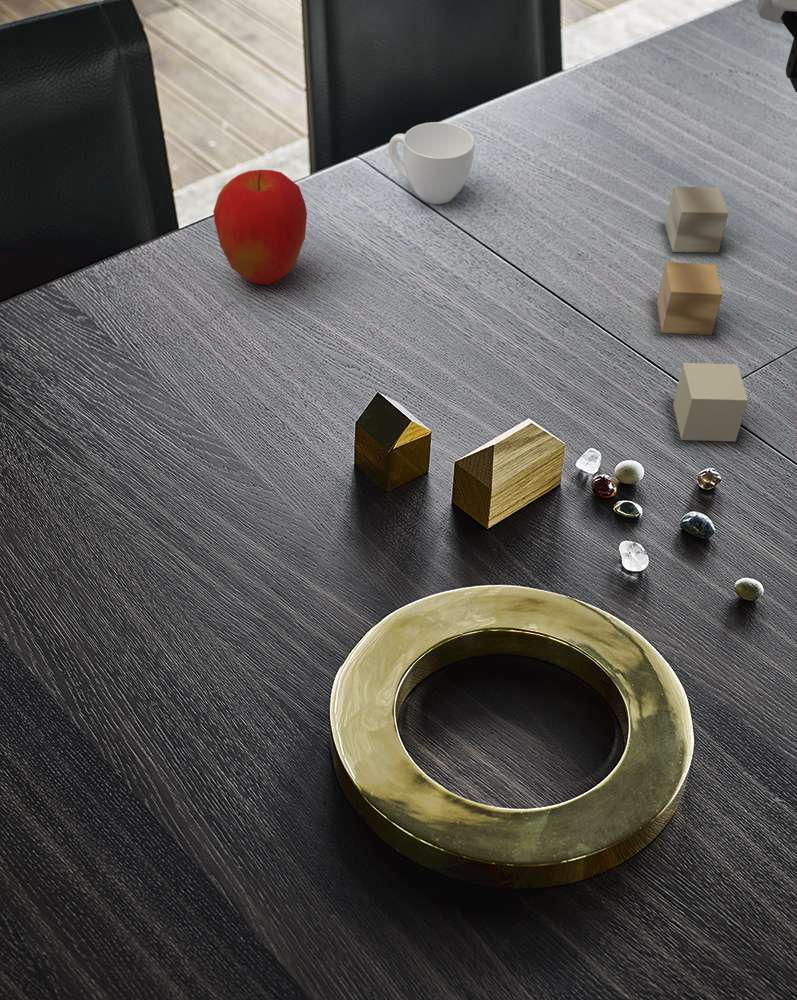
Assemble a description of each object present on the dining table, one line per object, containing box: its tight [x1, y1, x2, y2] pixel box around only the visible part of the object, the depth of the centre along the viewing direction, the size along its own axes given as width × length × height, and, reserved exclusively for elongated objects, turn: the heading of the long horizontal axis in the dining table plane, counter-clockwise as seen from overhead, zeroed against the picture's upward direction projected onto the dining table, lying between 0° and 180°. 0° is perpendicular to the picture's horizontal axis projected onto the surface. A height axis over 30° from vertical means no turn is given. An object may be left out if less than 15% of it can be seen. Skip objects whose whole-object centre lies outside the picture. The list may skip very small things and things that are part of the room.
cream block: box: [672, 362, 749, 443], centre depth 113 cm, size 5×5×5 cm
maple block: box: [656, 261, 724, 336], centre depth 124 cm, size 5×5×5 cm
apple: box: [213, 169, 308, 286], centre depth 125 cm, size 9×9×12 cm
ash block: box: [664, 186, 730, 254], centre depth 134 cm, size 5×5×5 cm
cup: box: [387, 121, 476, 205], centre depth 139 cm, size 8×10×7 cm
